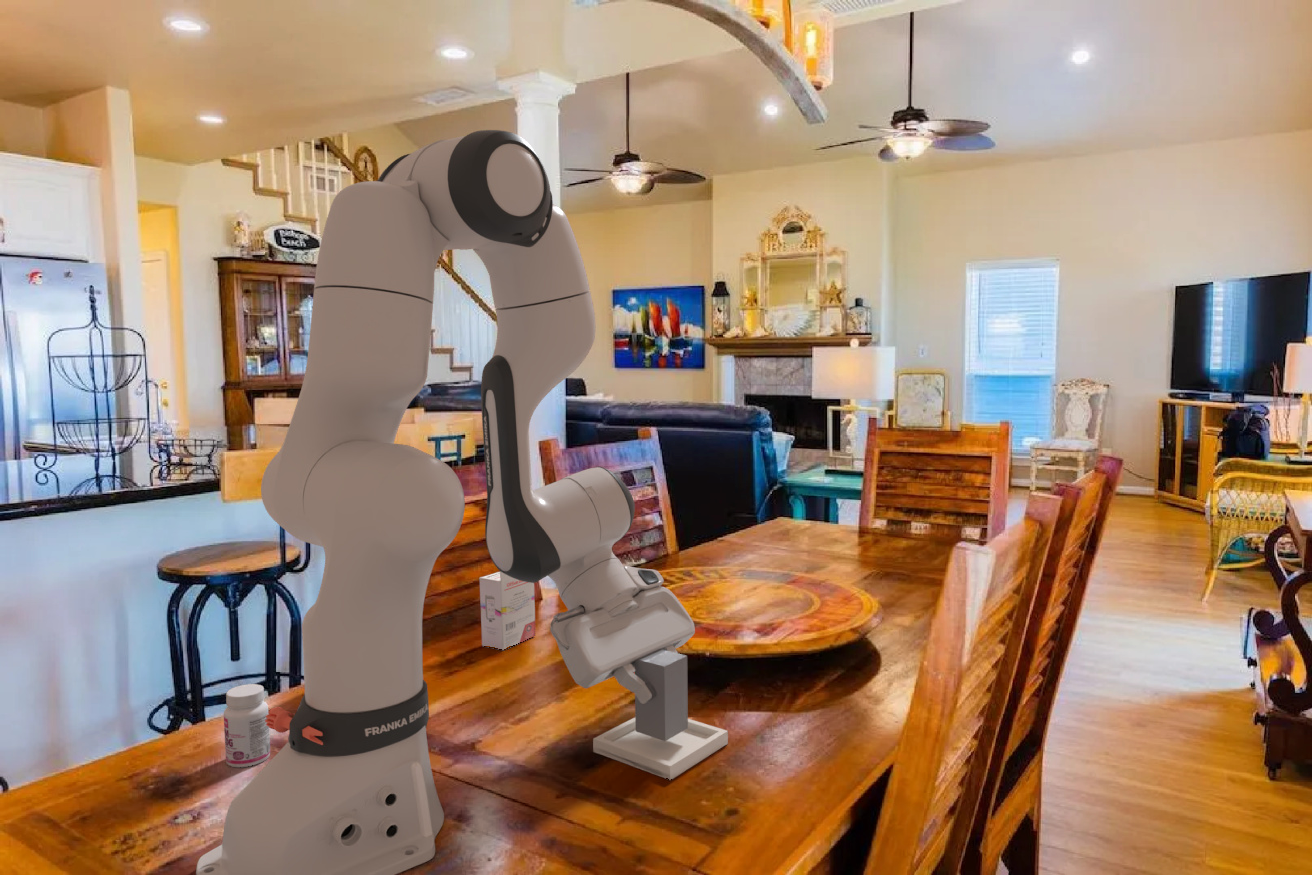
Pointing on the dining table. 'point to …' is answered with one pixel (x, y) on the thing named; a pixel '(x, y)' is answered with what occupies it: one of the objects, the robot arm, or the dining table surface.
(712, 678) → the dining table surface
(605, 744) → the tray
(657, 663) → the grey block
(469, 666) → the dining table surface
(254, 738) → the pill bottle
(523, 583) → the ink cartridge box
